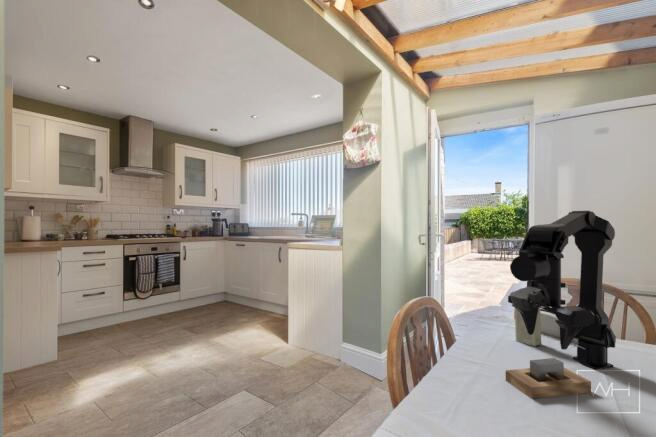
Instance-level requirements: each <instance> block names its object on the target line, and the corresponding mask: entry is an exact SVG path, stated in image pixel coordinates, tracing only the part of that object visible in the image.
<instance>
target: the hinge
mask: <svg viewBox="0 0 656 437" xmlns="http://www.w3.org/2000/svg"><path fill="white" fill-rule="evenodd" d="M540 319H541V333H543V332H544V333H543V334H547V335H549V336H550V335H551V336H553V337H556V338H559V339H560V327H559V325H558V324H557V323H556V322H555V320H558V318H557V317H556V313H554V312H551V311H548V310H545V309H542V308H540ZM571 343H575V344H578V339H576V338H574V339H573V340H572V342H571Z"/></svg>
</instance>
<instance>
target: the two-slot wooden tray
mask: <svg viewBox="0 0 656 437" xmlns="http://www.w3.org/2000/svg"><path fill="white" fill-rule="evenodd" d="M505 381H506V382H507V383H509V384H510V385H511V386H512V387H514V388H515V389H517V390H518V391H520V392H521V393H523V394H524V395H526V396H527V397H529V398H530V399H531V400H532V399H533V400H534V399H541V398H549V397H558V396H559V397H560V396H567V395H568V396H569V395H576V394H585V393H586V394H587V393H591V392H592V381H591V380H590V379H588V378H586V377H583V376H582V375H580V374H577V373H575V371H572V370H570V369H568V368H566V367H564V380H556V379H554V378H552V377H550V376H549V375H548V373H546V382H537V381H536V380H534V379H533V378H531V377H530V367H529V368H517V369H507V370H506V369H505Z"/></svg>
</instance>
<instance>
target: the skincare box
mask: <svg viewBox="0 0 656 437" xmlns="http://www.w3.org/2000/svg"><path fill="white" fill-rule="evenodd" d="M514 326H515V328H514V329H515V341H516V342H519V343H522V344H526V345H529V346H532V347H537V346H538V345H541V344H542V332H541V319H540V308H539V309H538V314H537V320H536V325H535V330H534V333H533V335H530V334H528V332H527V329H526V326H525V323H524V321H523V318H522V316H521V314H520V312H519V311H518V310H517V309H516V308H515V307H514Z"/></svg>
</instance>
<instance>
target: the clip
mask: <svg viewBox="0 0 656 437" xmlns="http://www.w3.org/2000/svg"><path fill="white" fill-rule="evenodd" d="M529 368H530V377H531V378H533V379H534V380H536V381H537V382H546V373H548V375H549V376H550V377H552V378H554V379H556V380H564V368H565V365H564V362H563V361H561V360H559V359H557V358H556V357H552V358H541V359H539V358H538V359H531V360H530V359H529Z"/></svg>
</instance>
